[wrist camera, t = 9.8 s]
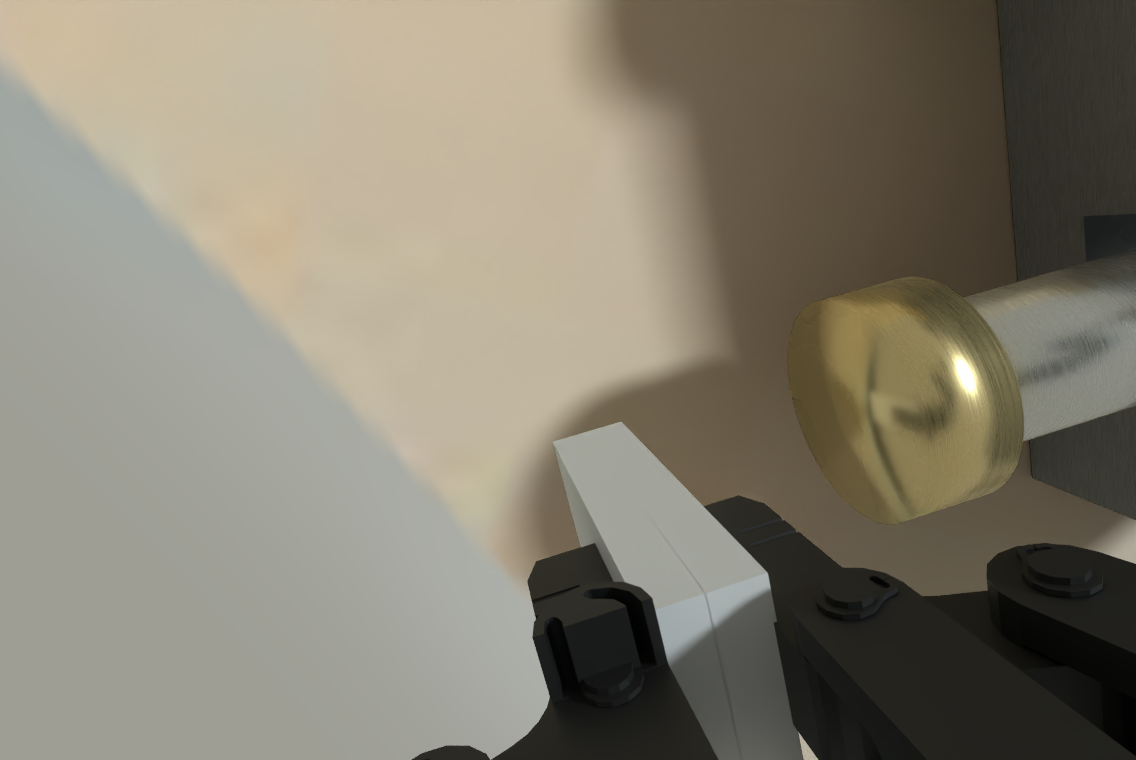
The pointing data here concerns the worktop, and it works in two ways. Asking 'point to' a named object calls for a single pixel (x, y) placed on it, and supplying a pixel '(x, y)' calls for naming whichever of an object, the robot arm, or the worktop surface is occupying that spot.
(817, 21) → the worktop surface
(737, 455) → the worktop surface
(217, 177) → the worktop surface
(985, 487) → the knob
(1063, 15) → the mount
